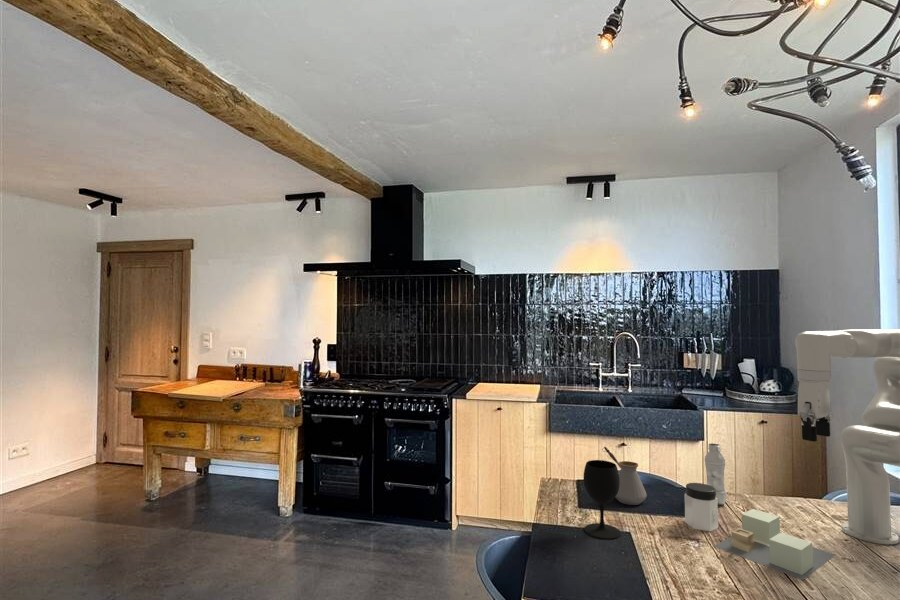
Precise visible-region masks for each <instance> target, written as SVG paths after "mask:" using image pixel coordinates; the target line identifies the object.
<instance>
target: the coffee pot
mask: <svg viewBox="0 0 900 600" xmlns="http://www.w3.org/2000/svg"><path fill="white" fill-rule="evenodd" d="M601 450H602V452H606V453H607V454H608V455H609V457H610V458H611V459H612V460H613V462H615V464H616V465H617V467H619V468H620V470H619V471H618V473H619V478H620V486H619V491H618V493H617V495H616V496H615V498H614V499H616V500H617V501H618V502H619V503H621V504H624V505H630V506H637V505H641V504H642V502H643V501H645V500H646V499H647V495H648V494H647V491H646V489H645V487H644V485H643V482H642V481H641V478H640V476H639V474H638V471H637V468H638V467H639V464H638V463H637V462H634V461H626V460H625V461H618V459H617V457H615V456H614V454H613V453H612V452H611V451H610V450H609V449H608V448H607V447H606V446H604V447H603V448H602V449H601Z"/></svg>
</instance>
